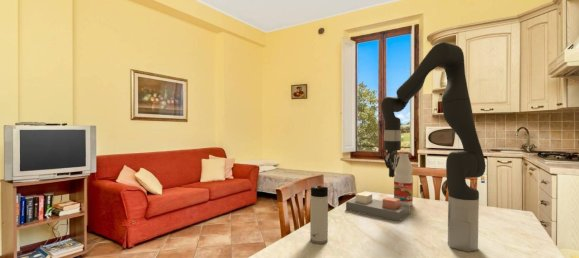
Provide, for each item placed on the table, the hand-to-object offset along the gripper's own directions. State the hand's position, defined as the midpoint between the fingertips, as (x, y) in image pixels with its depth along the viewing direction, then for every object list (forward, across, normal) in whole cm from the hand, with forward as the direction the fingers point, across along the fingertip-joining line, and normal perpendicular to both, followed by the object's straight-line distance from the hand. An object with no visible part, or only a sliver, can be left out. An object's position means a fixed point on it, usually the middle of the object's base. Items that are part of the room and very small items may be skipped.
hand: (391, 176), depth 140 cm
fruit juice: (+18, +23, +3) cm, 29 cm away
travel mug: (+18, -48, +7) cm, 52 cm away
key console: (+18, 0, +7) cm, 19 cm away
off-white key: (+14, 0, +14) cm, 20 cm away
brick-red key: (+14, 0, 0) cm, 14 cm away
